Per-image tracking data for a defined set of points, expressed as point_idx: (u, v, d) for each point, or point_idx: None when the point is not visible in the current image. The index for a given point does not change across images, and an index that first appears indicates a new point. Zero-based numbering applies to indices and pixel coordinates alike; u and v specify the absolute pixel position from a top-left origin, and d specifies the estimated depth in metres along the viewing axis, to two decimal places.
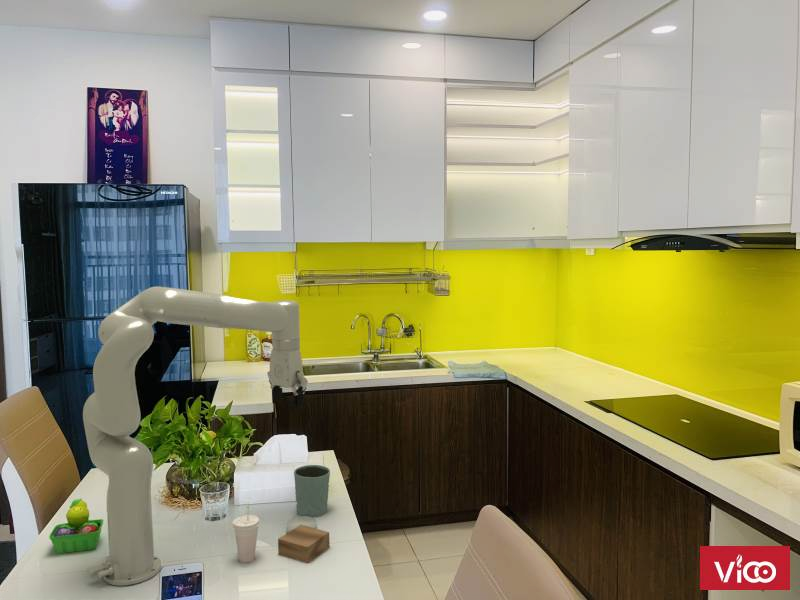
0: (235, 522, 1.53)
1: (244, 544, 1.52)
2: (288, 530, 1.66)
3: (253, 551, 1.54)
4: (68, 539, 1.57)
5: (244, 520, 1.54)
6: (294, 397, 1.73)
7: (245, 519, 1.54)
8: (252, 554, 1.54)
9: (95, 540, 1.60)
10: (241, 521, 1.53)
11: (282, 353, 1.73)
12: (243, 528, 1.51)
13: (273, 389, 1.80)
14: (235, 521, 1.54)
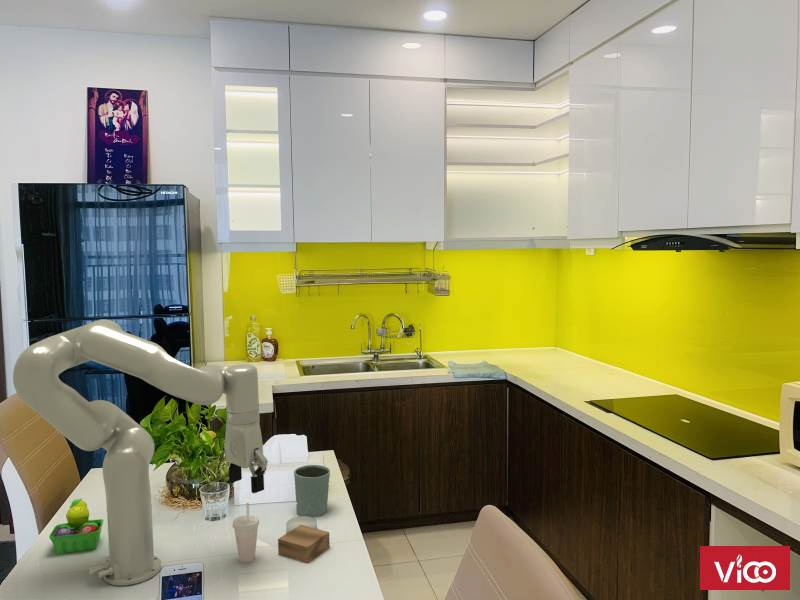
0: (235, 522, 1.53)
1: (244, 544, 1.52)
2: (288, 530, 1.66)
3: (253, 551, 1.54)
4: (68, 539, 1.57)
5: (244, 520, 1.54)
6: (252, 479, 1.48)
7: (245, 519, 1.54)
8: (252, 554, 1.54)
9: (95, 540, 1.60)
10: (241, 521, 1.53)
11: (238, 428, 1.49)
12: (243, 528, 1.51)
13: (230, 466, 1.55)
14: (235, 521, 1.54)
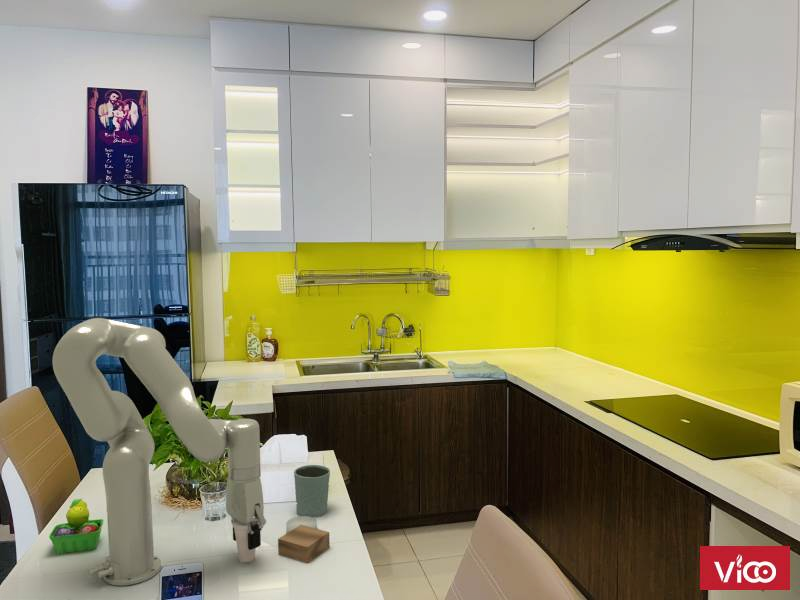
0: (235, 522, 1.53)
1: (244, 544, 1.52)
2: (288, 530, 1.66)
3: (253, 551, 1.54)
4: (68, 539, 1.57)
5: None
6: (249, 536, 1.51)
7: None
8: (252, 554, 1.54)
9: (95, 540, 1.60)
10: None
11: (239, 483, 1.50)
12: (243, 528, 1.51)
13: None
14: (235, 521, 1.54)
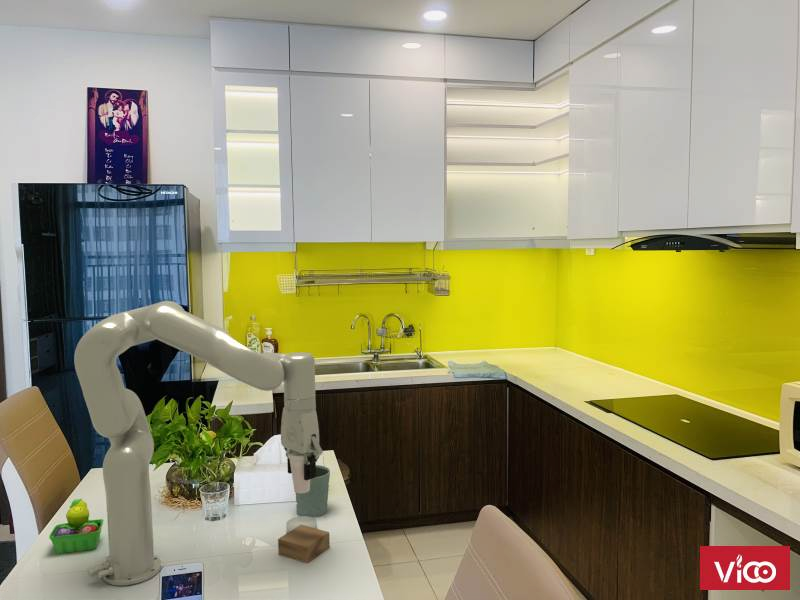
0: (290, 453, 1.55)
1: (300, 475, 1.54)
2: (288, 530, 1.66)
3: (308, 482, 1.56)
4: (68, 539, 1.57)
5: None
6: (305, 466, 1.53)
7: None
8: (307, 485, 1.56)
9: (95, 540, 1.60)
10: (296, 452, 1.56)
11: (296, 414, 1.52)
12: (299, 458, 1.53)
13: None
14: (290, 453, 1.56)
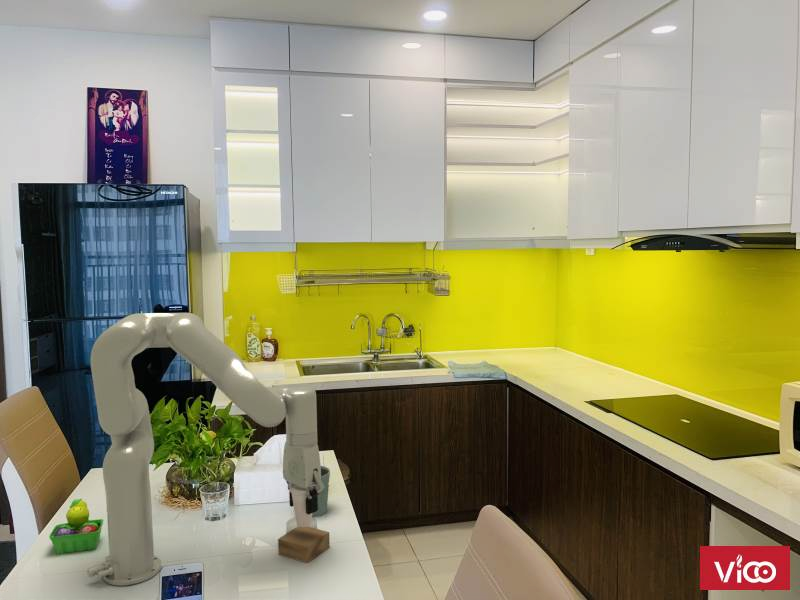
0: (292, 487, 1.56)
1: (302, 509, 1.55)
2: (288, 530, 1.66)
3: (310, 516, 1.57)
4: (68, 539, 1.57)
5: None
6: (307, 501, 1.54)
7: None
8: (309, 519, 1.57)
9: (95, 540, 1.60)
10: (298, 486, 1.57)
11: (297, 449, 1.53)
12: (301, 492, 1.54)
13: None
14: (292, 486, 1.57)
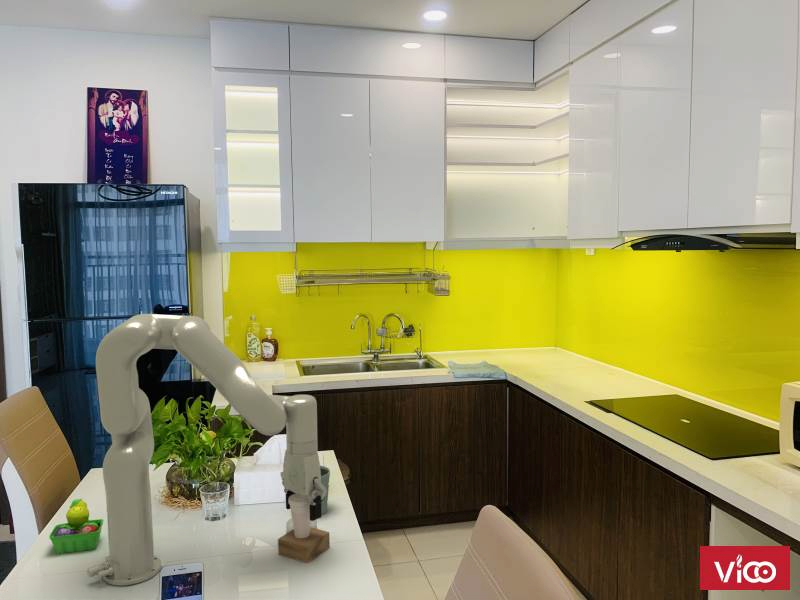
0: (291, 499, 1.57)
1: (300, 521, 1.56)
2: (288, 530, 1.66)
3: (308, 527, 1.57)
4: (68, 539, 1.57)
5: (299, 497, 1.57)
6: (311, 507, 1.53)
7: (300, 496, 1.58)
8: (307, 530, 1.57)
9: (95, 540, 1.60)
10: (297, 498, 1.57)
11: (298, 457, 1.53)
12: (299, 504, 1.55)
13: (287, 493, 1.60)
14: (291, 498, 1.57)
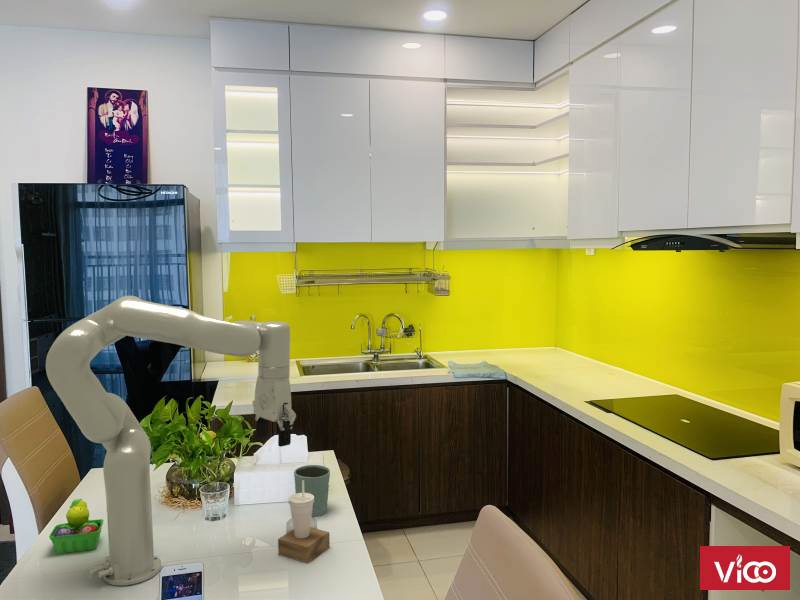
0: (291, 499, 1.57)
1: (300, 521, 1.56)
2: (288, 530, 1.66)
3: (308, 527, 1.57)
4: (68, 539, 1.57)
5: (299, 497, 1.57)
6: (280, 432, 1.52)
7: (300, 496, 1.58)
8: (307, 530, 1.57)
9: (95, 540, 1.60)
10: (297, 498, 1.57)
11: (268, 382, 1.53)
12: (299, 504, 1.55)
13: (258, 421, 1.59)
14: (291, 498, 1.57)
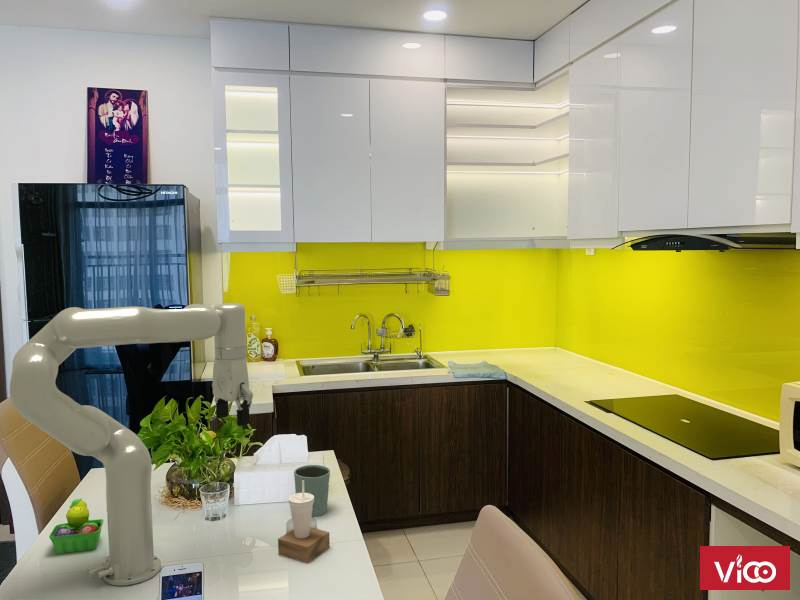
0: (291, 499, 1.57)
1: (300, 521, 1.56)
2: (288, 530, 1.66)
3: (308, 527, 1.57)
4: (68, 539, 1.57)
5: (299, 497, 1.57)
6: (238, 412, 1.54)
7: (300, 496, 1.58)
8: (307, 530, 1.57)
9: (95, 540, 1.60)
10: (297, 498, 1.57)
11: (225, 362, 1.54)
12: (299, 504, 1.55)
13: (217, 402, 1.61)
14: (291, 498, 1.57)
